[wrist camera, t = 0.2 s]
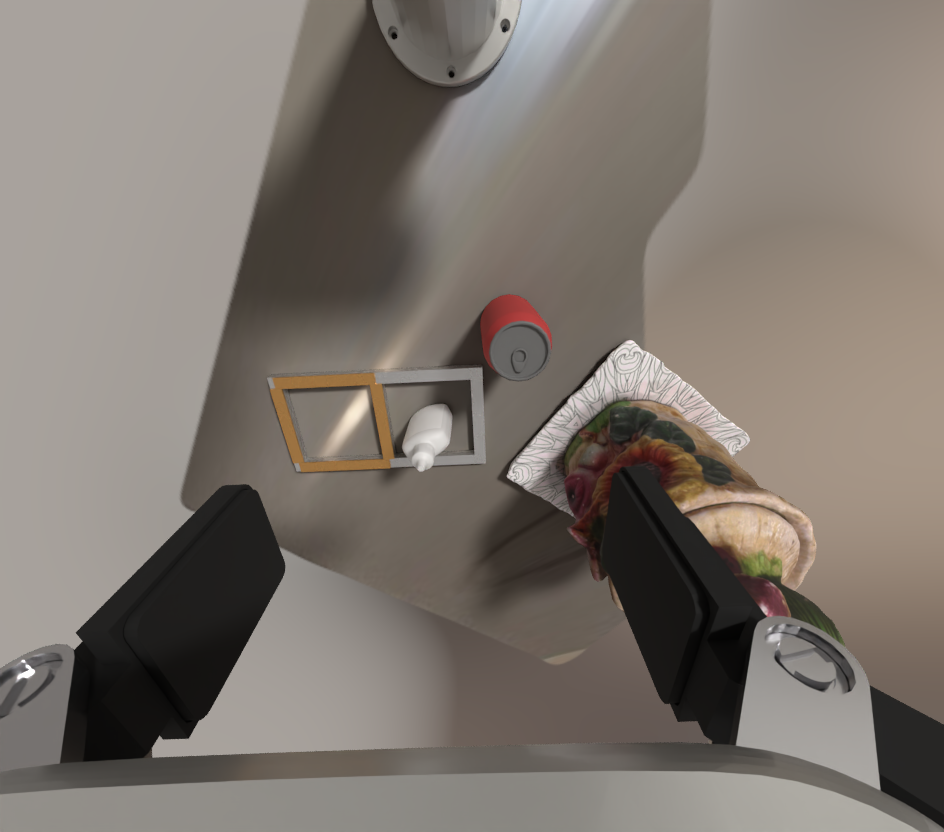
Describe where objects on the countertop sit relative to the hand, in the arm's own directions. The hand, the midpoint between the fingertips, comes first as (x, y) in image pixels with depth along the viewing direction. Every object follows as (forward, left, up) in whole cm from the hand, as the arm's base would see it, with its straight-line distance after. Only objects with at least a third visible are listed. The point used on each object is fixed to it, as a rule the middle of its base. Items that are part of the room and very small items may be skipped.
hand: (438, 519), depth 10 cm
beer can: (+3, +5, -37) cm, 37 cm away
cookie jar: (+22, +21, -37) cm, 48 cm away
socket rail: (+15, -11, -36) cm, 41 cm away
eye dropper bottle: (+15, -5, -37) cm, 40 cm away
